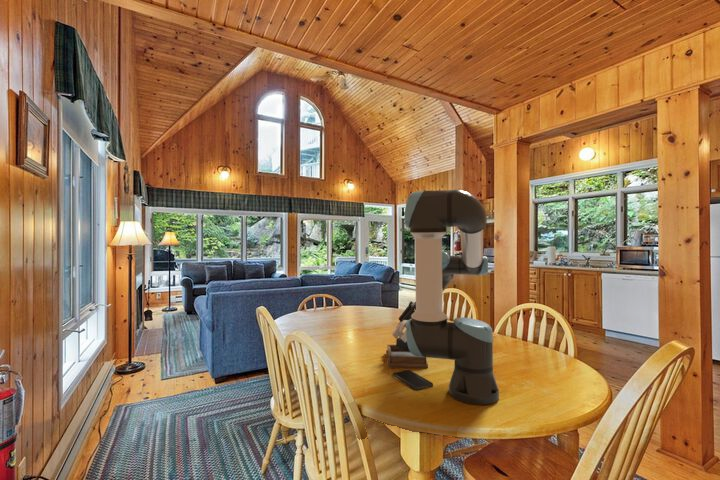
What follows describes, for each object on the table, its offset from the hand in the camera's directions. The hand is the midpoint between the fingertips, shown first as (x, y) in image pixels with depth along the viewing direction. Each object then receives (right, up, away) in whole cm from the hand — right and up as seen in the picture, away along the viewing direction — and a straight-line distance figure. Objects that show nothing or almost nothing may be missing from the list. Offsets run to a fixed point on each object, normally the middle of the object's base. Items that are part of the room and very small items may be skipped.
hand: (398, 338), depth 144 cm
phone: (+3, -10, -19) cm, 22 cm away
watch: (+3, -4, +2) cm, 5 cm away
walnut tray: (+3, -9, +1) cm, 10 cm away
